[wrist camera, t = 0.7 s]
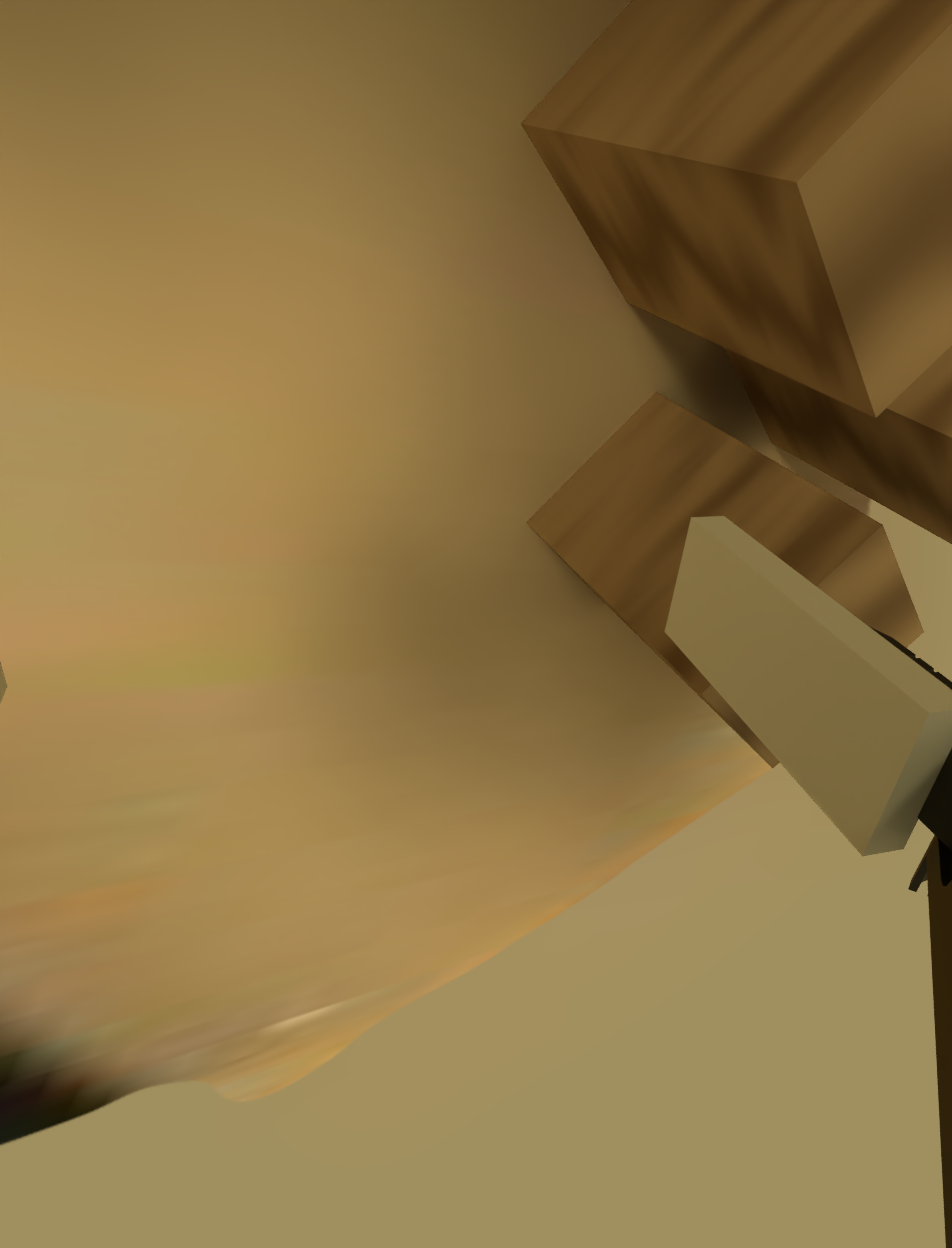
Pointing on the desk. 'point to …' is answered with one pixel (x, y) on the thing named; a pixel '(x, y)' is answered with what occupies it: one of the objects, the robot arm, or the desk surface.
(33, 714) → the desk surface
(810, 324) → the block seven
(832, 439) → the block one
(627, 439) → the plain block
